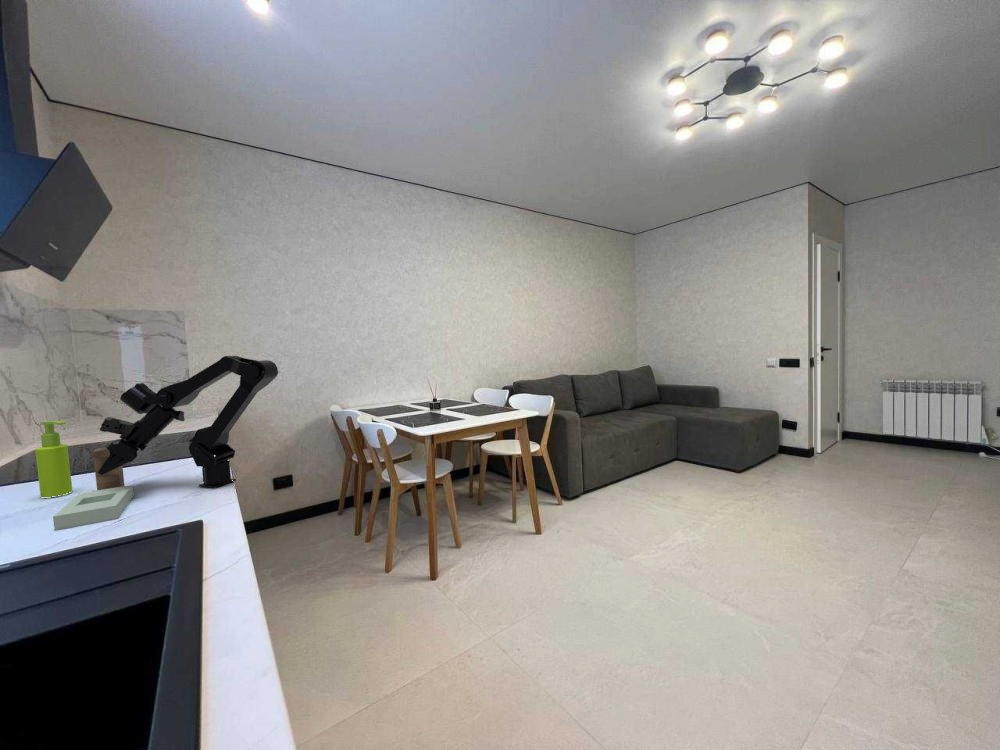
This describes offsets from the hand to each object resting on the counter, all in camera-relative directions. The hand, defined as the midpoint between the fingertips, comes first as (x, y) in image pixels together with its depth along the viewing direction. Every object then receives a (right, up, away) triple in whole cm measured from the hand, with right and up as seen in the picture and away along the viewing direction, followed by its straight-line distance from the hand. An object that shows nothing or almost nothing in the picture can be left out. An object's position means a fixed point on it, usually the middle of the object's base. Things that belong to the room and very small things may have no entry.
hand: (102, 471), depth 109 cm
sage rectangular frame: (+9, -7, -11) cm, 16 cm away
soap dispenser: (-15, -7, +3) cm, 17 cm away
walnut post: (+1, -6, +1) cm, 7 cm away
